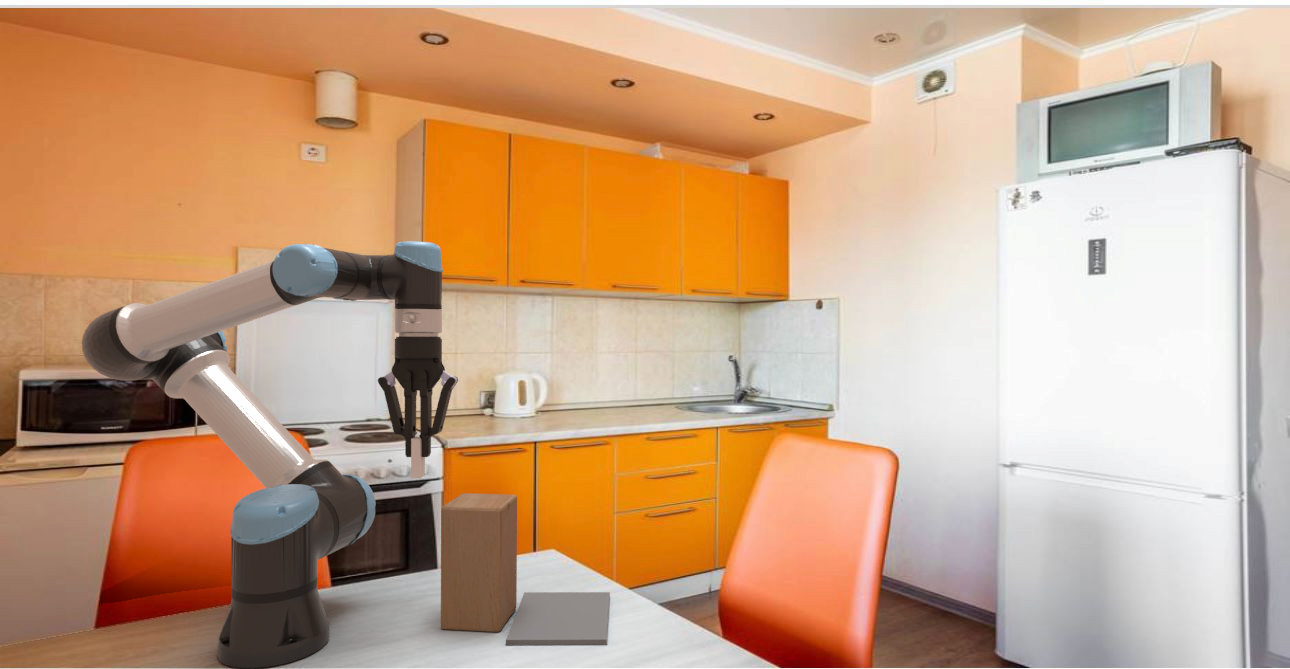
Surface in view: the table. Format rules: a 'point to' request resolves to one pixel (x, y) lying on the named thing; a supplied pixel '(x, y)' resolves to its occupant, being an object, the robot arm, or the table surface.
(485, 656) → the table surface
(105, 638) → the table surface
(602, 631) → the mat
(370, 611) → the table surface
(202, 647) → the table surface
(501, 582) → the wooden block
